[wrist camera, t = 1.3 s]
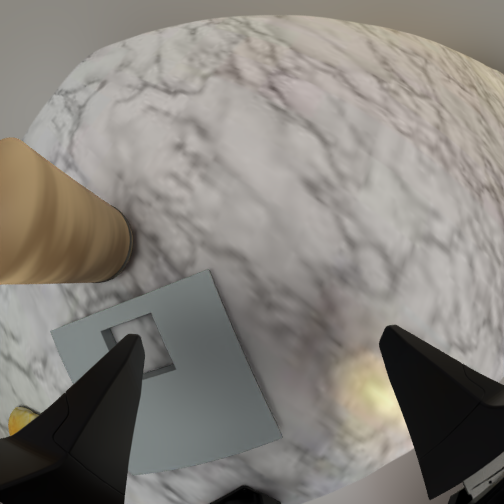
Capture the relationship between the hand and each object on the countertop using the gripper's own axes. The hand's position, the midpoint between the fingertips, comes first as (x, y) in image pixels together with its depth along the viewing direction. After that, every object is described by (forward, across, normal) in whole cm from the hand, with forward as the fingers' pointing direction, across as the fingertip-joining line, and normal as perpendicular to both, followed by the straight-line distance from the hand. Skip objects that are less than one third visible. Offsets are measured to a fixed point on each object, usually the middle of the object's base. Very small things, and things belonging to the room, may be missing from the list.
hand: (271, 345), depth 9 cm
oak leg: (+14, +12, +3) cm, 19 cm away
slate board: (+8, +7, +14) cm, 17 cm away
